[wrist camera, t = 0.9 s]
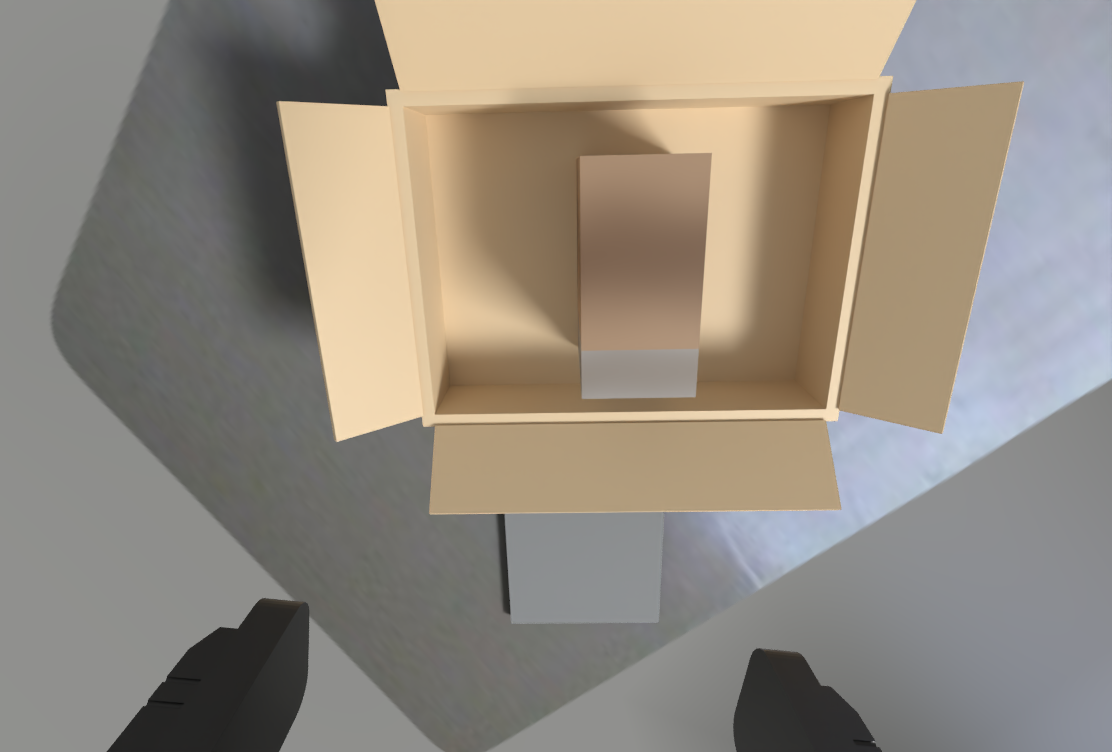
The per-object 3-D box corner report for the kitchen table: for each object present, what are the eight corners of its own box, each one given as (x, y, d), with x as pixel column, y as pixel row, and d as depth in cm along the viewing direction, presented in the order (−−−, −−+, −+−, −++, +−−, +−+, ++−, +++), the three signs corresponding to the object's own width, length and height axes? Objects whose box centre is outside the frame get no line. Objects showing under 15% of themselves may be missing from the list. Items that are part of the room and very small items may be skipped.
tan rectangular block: (576, 159, 26) (579, 156, 20) (674, 156, 26) (712, 152, 19) (578, 346, 29) (581, 398, 23) (666, 345, 29) (695, 397, 23)
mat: (503, 474, 32) (502, 480, 31) (664, 472, 32) (666, 478, 31) (512, 616, 35) (511, 623, 35) (657, 615, 35) (658, 622, 35)
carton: (331, 22, 25) (250, -29, 18) (931, 4, 24) (1061, -54, 18) (389, 448, 32) (345, 518, 25) (854, 442, 31) (928, 512, 25)
